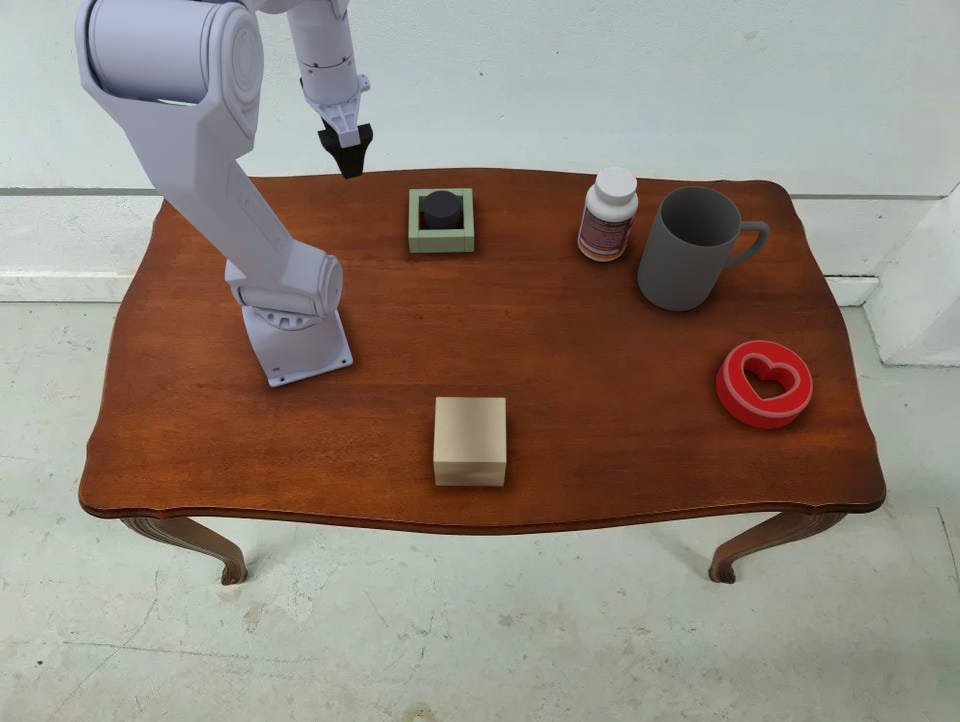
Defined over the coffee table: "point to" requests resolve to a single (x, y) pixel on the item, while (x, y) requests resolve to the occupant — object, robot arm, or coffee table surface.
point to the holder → (440, 238)
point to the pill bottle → (608, 214)
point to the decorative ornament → (767, 365)
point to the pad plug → (442, 211)
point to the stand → (470, 441)
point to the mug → (692, 247)
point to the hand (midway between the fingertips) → (344, 153)
